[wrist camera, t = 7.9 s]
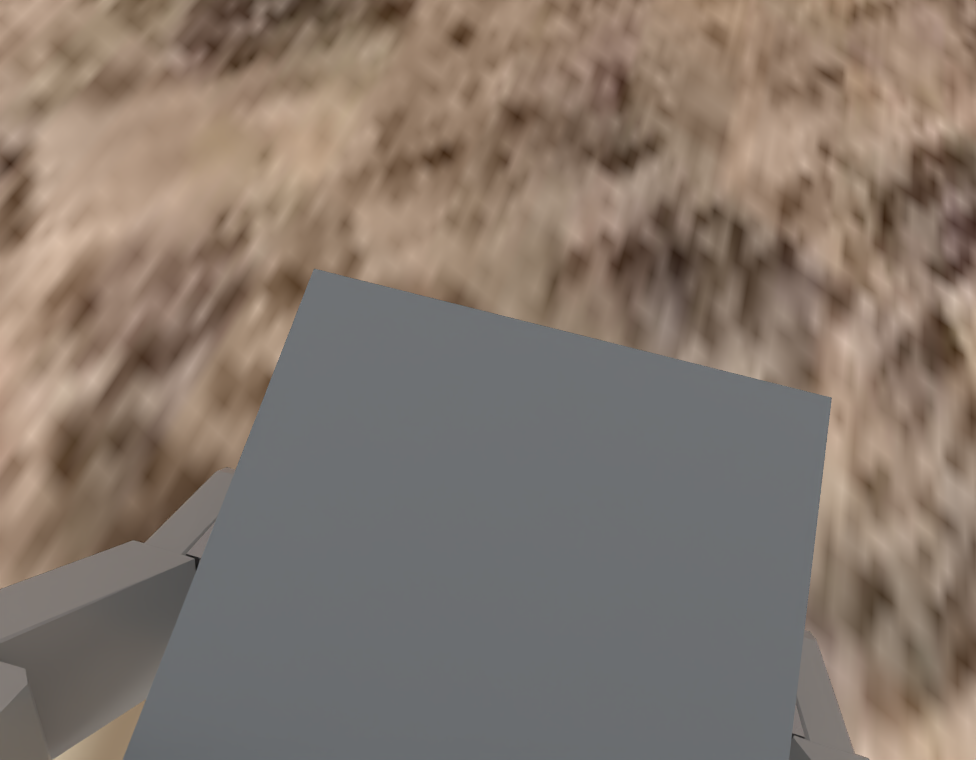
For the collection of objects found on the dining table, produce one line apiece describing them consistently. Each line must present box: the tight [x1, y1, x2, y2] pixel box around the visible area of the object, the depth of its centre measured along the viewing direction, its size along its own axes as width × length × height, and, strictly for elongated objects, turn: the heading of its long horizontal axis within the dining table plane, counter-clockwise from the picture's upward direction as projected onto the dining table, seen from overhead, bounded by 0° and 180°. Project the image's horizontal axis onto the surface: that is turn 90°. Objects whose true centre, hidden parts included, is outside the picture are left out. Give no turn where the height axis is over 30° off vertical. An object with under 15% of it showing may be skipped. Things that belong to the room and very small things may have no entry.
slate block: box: [123, 269, 832, 760], centre depth 11 cm, size 5×5×13 cm
